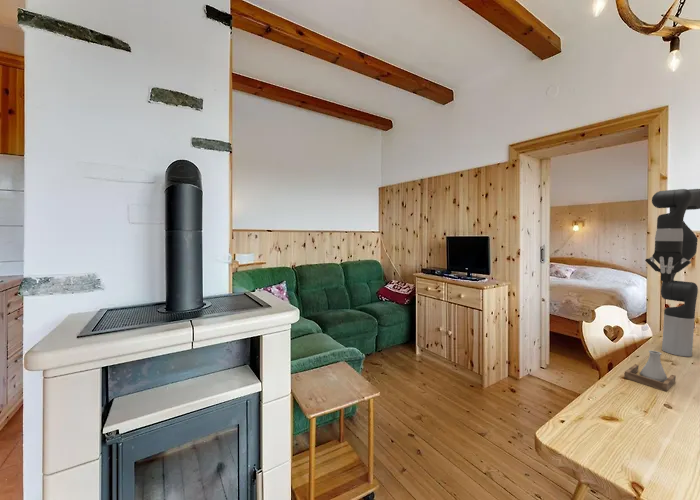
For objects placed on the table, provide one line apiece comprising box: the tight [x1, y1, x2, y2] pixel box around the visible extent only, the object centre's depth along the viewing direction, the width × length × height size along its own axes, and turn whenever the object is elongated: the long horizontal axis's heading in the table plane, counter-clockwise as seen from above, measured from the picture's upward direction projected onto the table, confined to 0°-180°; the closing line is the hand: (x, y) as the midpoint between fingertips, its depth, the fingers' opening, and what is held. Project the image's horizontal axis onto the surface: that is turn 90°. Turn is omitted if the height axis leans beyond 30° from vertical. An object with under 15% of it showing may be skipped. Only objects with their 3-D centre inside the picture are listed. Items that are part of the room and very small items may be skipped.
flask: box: [638, 350, 669, 382], centre depth 110 cm, size 7×7×10 cm
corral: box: [623, 363, 676, 392], centre depth 108 cm, size 12×11×2 cm
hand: (665, 282), depth 117 cm, fingers closed
